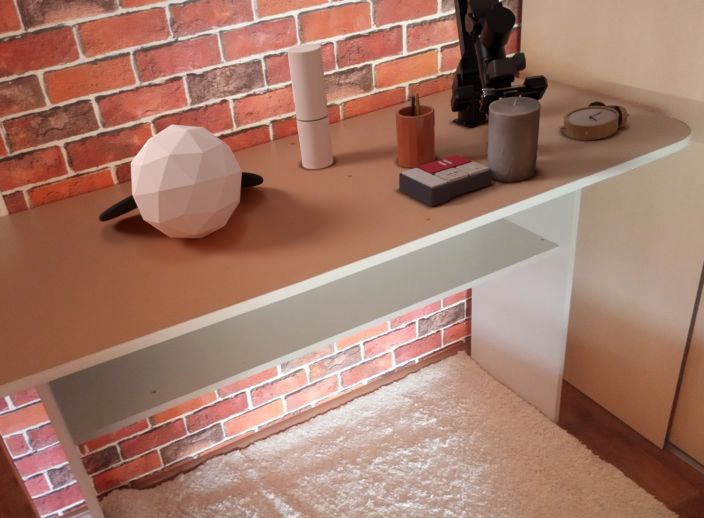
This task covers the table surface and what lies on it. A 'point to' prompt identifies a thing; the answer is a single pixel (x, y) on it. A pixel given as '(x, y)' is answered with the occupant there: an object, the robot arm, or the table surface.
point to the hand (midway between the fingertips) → (504, 132)
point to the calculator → (444, 179)
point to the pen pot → (415, 136)
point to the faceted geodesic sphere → (184, 183)
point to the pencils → (414, 99)
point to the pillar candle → (513, 138)
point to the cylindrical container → (310, 105)
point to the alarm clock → (594, 121)
